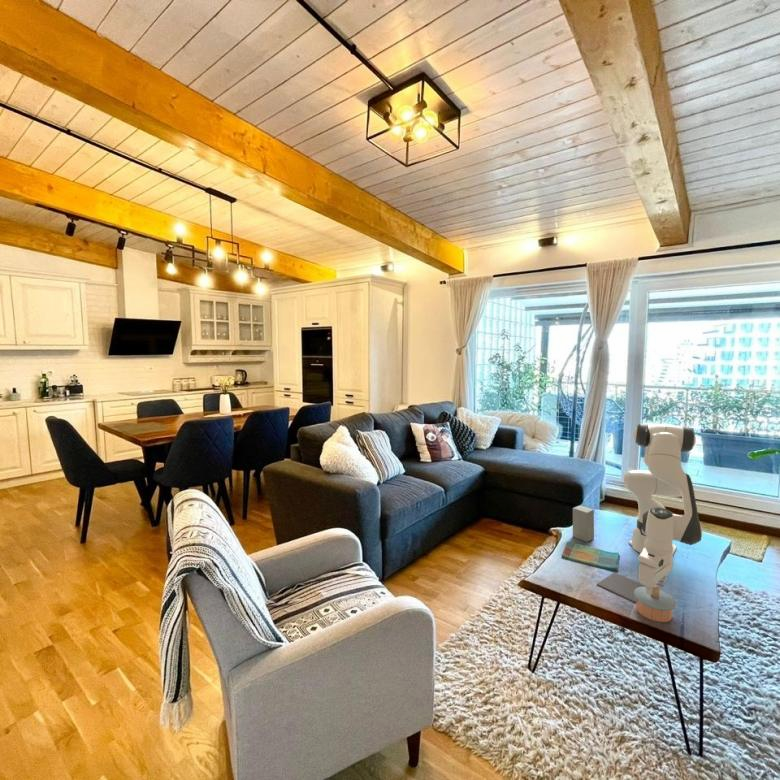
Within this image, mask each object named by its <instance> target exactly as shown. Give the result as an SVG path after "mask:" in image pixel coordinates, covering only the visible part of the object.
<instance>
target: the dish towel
mask: <svg viewBox="0 0 780 780" xmlns="http://www.w3.org/2000/svg"><path fill="white" fill-rule="evenodd" d="M619 553H620V552H613V551H612V552H611V551H608V550H604V549H599V548H595V547H591V546H587V545H583V544H578V543H574V542H570V541H566V544H565V547H564V549H563V552H562V554H561V559H563V560H567V561H570V562H575V563H580V564H582V565H583V564H584V565H587V566H591V567H595V568H600V569H604V570H607V571H612V572H616V573H618V572H619V564H620V559H621V555H620V554H619Z"/></svg>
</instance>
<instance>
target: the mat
mask: <svg viewBox="0 0 780 780" xmlns="http://www.w3.org/2000/svg"><path fill="white" fill-rule="evenodd" d="M596 586H599V587H601V589H602V588H603V589H604V590H607V591H609V592H610V593H613V594H615V595H617V596H619V597H622V598H624V599H626V600H628V601H629V602H632V603H634V604H636V598H635V596H634V590H635V589H636V588H638V587H645V586H644V585H642V584H640V582H639V581H636V580H634V579H631V578H628V576H627V577H626V576H624V575H623V574H619V573H618V572H616V571H613V573H611V574H610V575H608V576H607V577H605V578H603V579H602V580H600V581H599V582H597V583H596Z"/></svg>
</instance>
